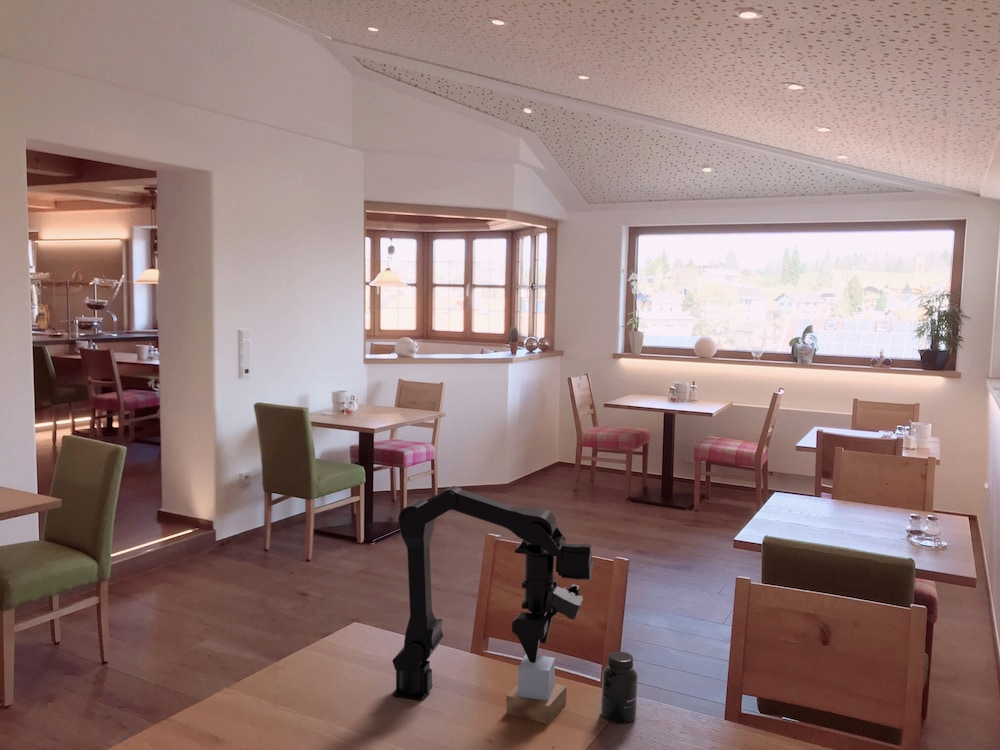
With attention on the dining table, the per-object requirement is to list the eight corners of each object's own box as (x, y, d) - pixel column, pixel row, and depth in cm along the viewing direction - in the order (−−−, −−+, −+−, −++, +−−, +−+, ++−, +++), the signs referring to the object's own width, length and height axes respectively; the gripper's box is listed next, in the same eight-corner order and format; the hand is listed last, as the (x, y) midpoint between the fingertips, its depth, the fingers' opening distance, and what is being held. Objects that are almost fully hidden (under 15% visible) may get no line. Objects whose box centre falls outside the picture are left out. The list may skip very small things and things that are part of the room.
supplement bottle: (635, 726, 153) (637, 665, 151) (599, 722, 154) (601, 662, 153) (636, 708, 159) (638, 650, 158) (602, 704, 161) (603, 647, 160)
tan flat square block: (506, 715, 157) (506, 695, 157) (525, 695, 165) (525, 676, 165) (548, 726, 153) (549, 706, 153) (566, 705, 161) (566, 686, 161)
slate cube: (518, 696, 156) (518, 666, 156) (525, 682, 162) (525, 653, 162) (548, 700, 155) (549, 670, 154) (554, 686, 161) (555, 657, 160)
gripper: (570, 596, 145) (569, 679, 147) (588, 564, 163) (586, 638, 165) (511, 590, 148) (510, 671, 150) (535, 559, 166) (534, 632, 168)
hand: (538, 652), depth 158 cm, fingers open, 9 cm apart
